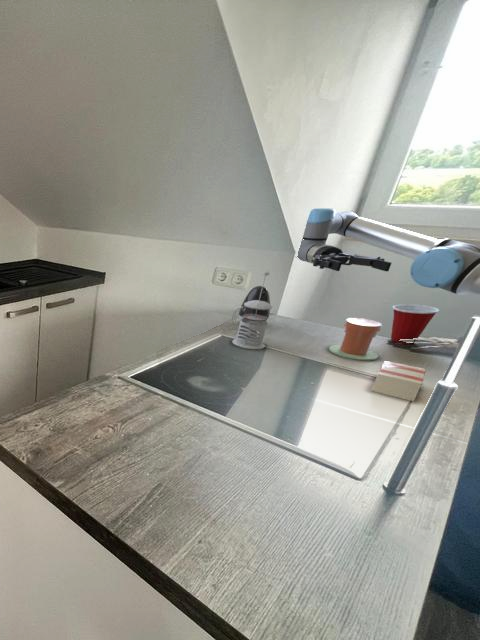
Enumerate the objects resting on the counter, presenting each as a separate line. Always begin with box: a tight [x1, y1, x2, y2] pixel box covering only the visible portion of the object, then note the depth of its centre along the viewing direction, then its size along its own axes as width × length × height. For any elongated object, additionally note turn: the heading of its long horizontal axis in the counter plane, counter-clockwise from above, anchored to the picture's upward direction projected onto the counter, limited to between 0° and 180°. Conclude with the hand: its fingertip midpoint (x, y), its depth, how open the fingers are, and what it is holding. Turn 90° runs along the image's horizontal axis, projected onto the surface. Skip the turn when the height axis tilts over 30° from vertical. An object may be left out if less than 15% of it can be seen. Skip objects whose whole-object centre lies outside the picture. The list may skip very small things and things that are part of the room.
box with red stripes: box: [370, 360, 426, 402], centre depth 102 cm, size 12×8×5 cm
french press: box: [231, 270, 273, 350], centre depth 130 cm, size 10×12×25 cm
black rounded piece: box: [238, 285, 271, 325], centre depth 149 cm, size 10×10×15 cm
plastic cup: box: [390, 304, 440, 345], centre depth 130 cm, size 11×11×12 cm
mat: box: [328, 344, 379, 361], centre depth 125 cm, size 12×12×1 cm
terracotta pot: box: [340, 317, 383, 355], centre depth 123 cm, size 8×8×10 cm
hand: (363, 266), depth 122 cm, fingers open, 13 cm apart
